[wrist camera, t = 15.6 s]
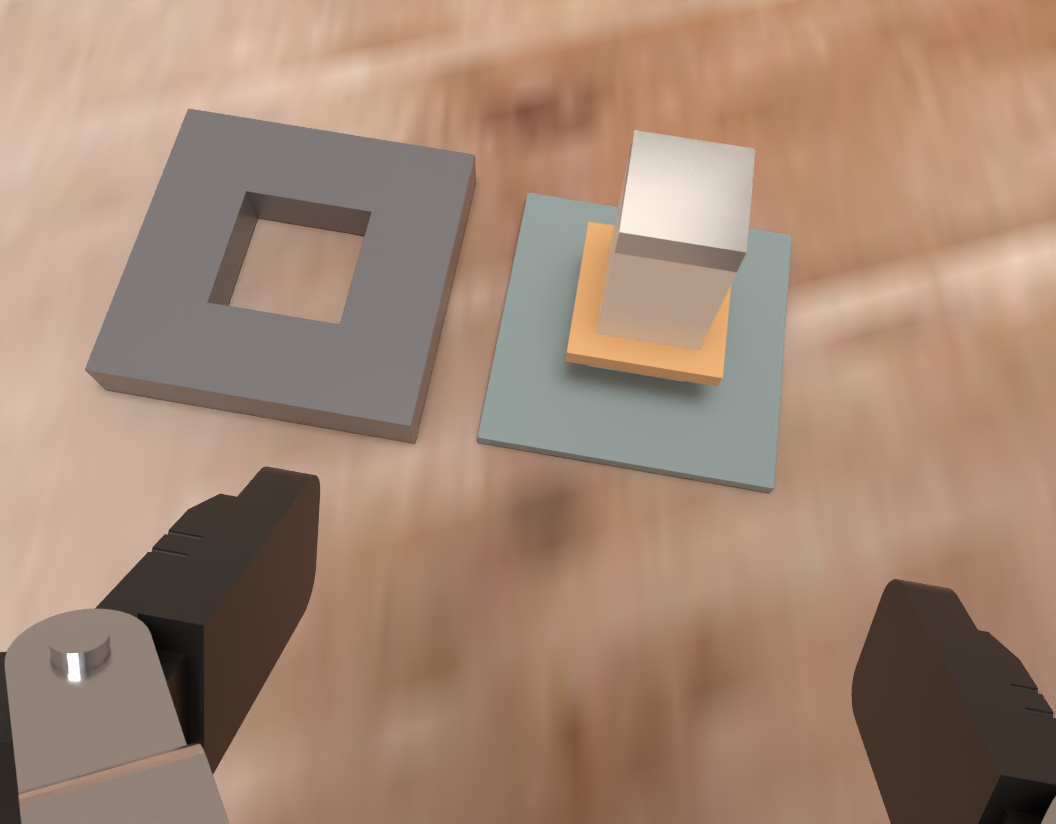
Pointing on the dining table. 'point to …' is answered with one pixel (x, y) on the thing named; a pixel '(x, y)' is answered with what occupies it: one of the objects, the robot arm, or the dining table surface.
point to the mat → (625, 398)
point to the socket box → (277, 340)
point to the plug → (665, 262)
